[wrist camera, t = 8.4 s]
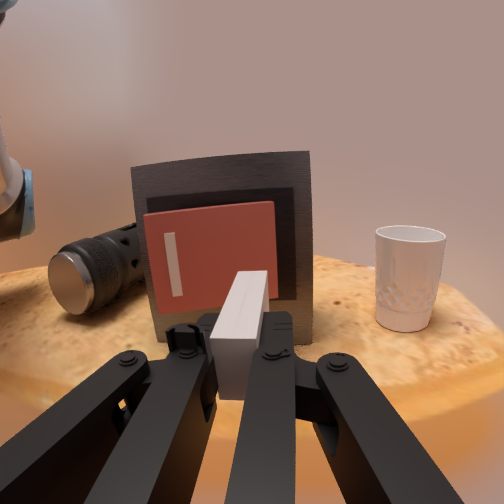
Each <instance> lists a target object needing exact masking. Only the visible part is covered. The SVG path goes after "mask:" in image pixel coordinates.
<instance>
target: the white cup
mask: <svg viewBox="0 0 504 504" xmlns="http://www.w3.org/2000/svg"><path fill="white" fill-rule="evenodd" d="M445 242H446V235H445V234H444V233H442V232H440V231H437V230H434V229H430V228H425V227H418V226H386V227H381V228H379V229H377V230H376V264H375V265H376V266H375V273H376V277H375V296H376V305H375V317H376V321H377V322H378V323H379V324H381V325H382V326H383V327H385V328H388V329H390V330H393V331H399V332H414V331H419V330H421V329H423V328H425V327H427V326H428V323H429V321H430V318H431V314H432V309H433V304H434V302H435V300H436V294H437V291H438V286H439V280H440V275H441V270H442V263H443V257H444V250H445Z"/></svg>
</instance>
